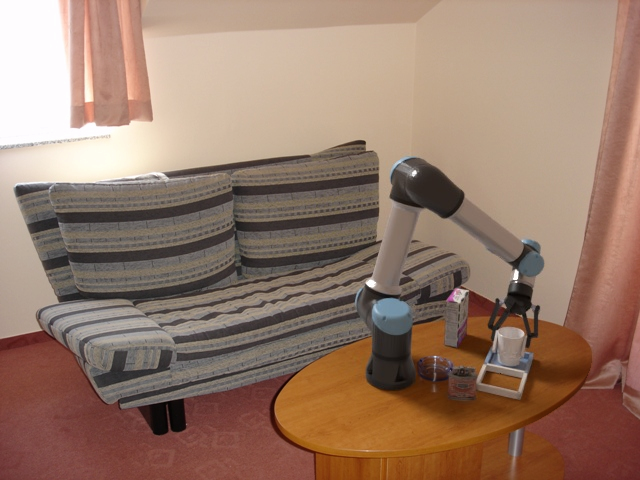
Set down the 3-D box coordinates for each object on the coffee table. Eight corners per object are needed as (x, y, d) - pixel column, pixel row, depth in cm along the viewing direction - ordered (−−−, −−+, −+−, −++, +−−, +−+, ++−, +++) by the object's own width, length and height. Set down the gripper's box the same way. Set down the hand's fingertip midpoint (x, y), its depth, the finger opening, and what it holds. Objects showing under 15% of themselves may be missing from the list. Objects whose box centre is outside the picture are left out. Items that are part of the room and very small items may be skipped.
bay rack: (474, 389, 188) (474, 383, 187) (491, 350, 209) (491, 345, 208) (520, 400, 182) (521, 393, 182) (532, 358, 204) (533, 353, 203)
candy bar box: (452, 331, 222) (455, 287, 216) (466, 334, 220) (470, 290, 214) (442, 345, 213) (445, 300, 207) (457, 348, 210) (460, 303, 205)
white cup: (493, 354, 204) (495, 326, 201) (518, 354, 204) (520, 326, 201) (498, 367, 197) (501, 338, 194) (524, 367, 197) (527, 338, 193)
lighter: (447, 399, 183) (449, 368, 180) (446, 393, 186) (448, 362, 183) (476, 401, 182) (478, 370, 179) (475, 395, 185) (477, 364, 182)
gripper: (555, 296, 203) (543, 365, 195) (489, 285, 212) (475, 351, 203) (555, 287, 197) (542, 357, 189) (487, 276, 205) (472, 343, 197)
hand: (507, 354), depth 196 cm, fingers open, 8 cm apart
